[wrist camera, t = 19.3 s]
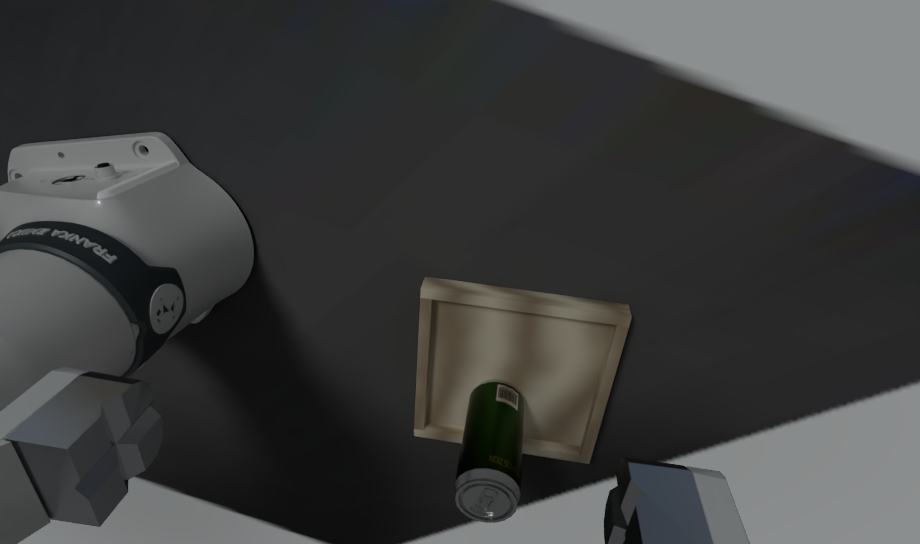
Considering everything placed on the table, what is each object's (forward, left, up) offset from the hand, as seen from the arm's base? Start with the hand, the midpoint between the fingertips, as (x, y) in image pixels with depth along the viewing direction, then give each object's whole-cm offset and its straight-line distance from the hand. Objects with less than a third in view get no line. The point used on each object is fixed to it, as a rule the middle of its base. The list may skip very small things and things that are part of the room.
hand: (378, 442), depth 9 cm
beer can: (+3, -29, -34) cm, 45 cm away
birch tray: (+4, -26, -34) cm, 43 cm away
